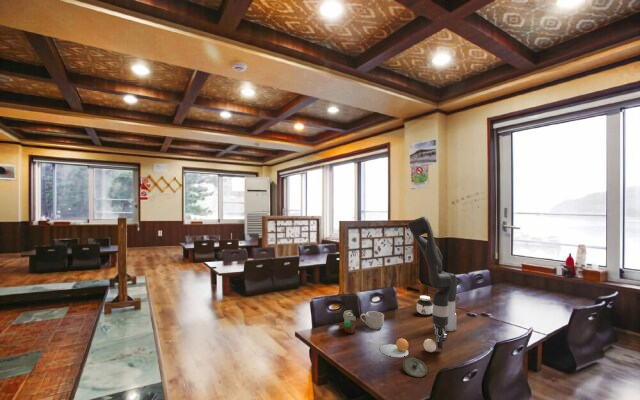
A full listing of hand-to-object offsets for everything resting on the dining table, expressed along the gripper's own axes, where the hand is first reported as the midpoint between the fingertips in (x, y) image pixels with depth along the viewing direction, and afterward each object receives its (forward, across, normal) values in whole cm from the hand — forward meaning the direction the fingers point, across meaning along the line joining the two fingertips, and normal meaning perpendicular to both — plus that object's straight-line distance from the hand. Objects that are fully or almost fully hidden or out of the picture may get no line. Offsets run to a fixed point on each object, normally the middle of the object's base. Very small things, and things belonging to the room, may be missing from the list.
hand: (439, 348), depth 157 cm
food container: (+2, +25, +43) cm, 50 cm away
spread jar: (+2, +57, -15) cm, 59 cm away
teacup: (+2, +31, +28) cm, 42 cm away
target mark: (+2, 0, +23) cm, 23 cm away
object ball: (-2, 0, +19) cm, 19 cm away
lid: (+2, -20, +19) cm, 28 cm away
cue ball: (-2, 0, +5) cm, 5 cm away
